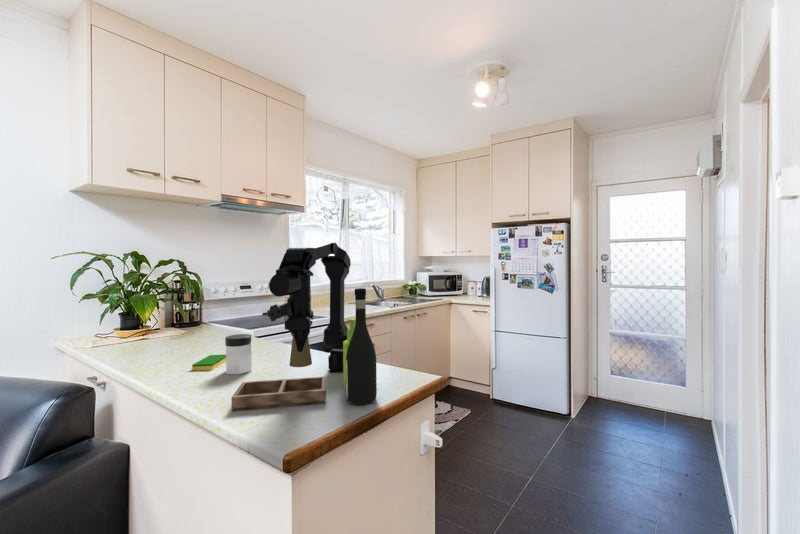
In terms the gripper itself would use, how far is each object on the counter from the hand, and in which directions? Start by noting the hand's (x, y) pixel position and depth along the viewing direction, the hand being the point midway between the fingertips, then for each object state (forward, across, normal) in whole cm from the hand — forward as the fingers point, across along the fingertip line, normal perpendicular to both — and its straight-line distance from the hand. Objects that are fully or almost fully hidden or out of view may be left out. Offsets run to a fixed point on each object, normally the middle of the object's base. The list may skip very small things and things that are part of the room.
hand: (300, 349), depth 101 cm
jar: (+13, -29, -23) cm, 39 cm away
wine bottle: (+13, +6, +16) cm, 22 cm away
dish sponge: (+14, -40, -35) cm, 55 cm away
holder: (+13, +1, -5) cm, 14 cm away
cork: (+4, 0, 0) cm, 4 cm away
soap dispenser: (+13, -8, +15) cm, 21 cm away
